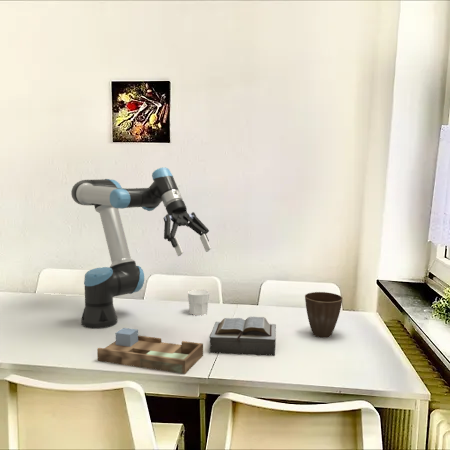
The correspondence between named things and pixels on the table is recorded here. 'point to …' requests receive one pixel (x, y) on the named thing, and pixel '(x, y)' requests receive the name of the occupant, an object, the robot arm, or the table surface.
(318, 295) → the plant pot
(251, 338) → the bible
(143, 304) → the table surface
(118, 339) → the block
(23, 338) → the table surface
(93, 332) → the table surface
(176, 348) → the wooden tray
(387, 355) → the table surface
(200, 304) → the cup
